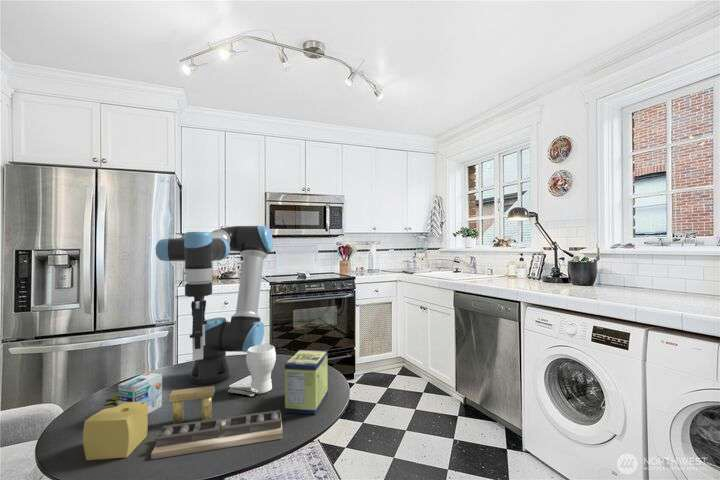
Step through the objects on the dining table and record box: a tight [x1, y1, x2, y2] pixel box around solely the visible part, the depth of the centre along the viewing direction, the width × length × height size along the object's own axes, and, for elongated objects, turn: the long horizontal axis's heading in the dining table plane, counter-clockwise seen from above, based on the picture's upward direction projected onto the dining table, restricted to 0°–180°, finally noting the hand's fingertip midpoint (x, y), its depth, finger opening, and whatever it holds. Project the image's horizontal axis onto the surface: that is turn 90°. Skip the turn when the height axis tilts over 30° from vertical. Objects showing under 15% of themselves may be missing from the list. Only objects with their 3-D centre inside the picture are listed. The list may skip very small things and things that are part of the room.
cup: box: [245, 344, 277, 394], centre depth 124 cm, size 11×11×15 cm
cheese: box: [82, 402, 149, 461], centre depth 89 cm, size 10×11×10 cm
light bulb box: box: [117, 372, 163, 415], centre depth 107 cm, size 11×7×11 cm, turn 166°
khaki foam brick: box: [168, 385, 216, 425], centre depth 102 cm, size 4×12×9 cm, turn 106°
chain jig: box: [150, 409, 284, 460], centre depth 94 cm, size 12×32×4 cm, turn 106°
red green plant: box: [104, 393, 118, 406], centre depth 117 cm, size 12×12×5 cm
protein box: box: [284, 349, 329, 416], centre depth 113 cm, size 10×16×16 cm
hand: (199, 352), depth 102 cm, fingers open, 13 cm apart
